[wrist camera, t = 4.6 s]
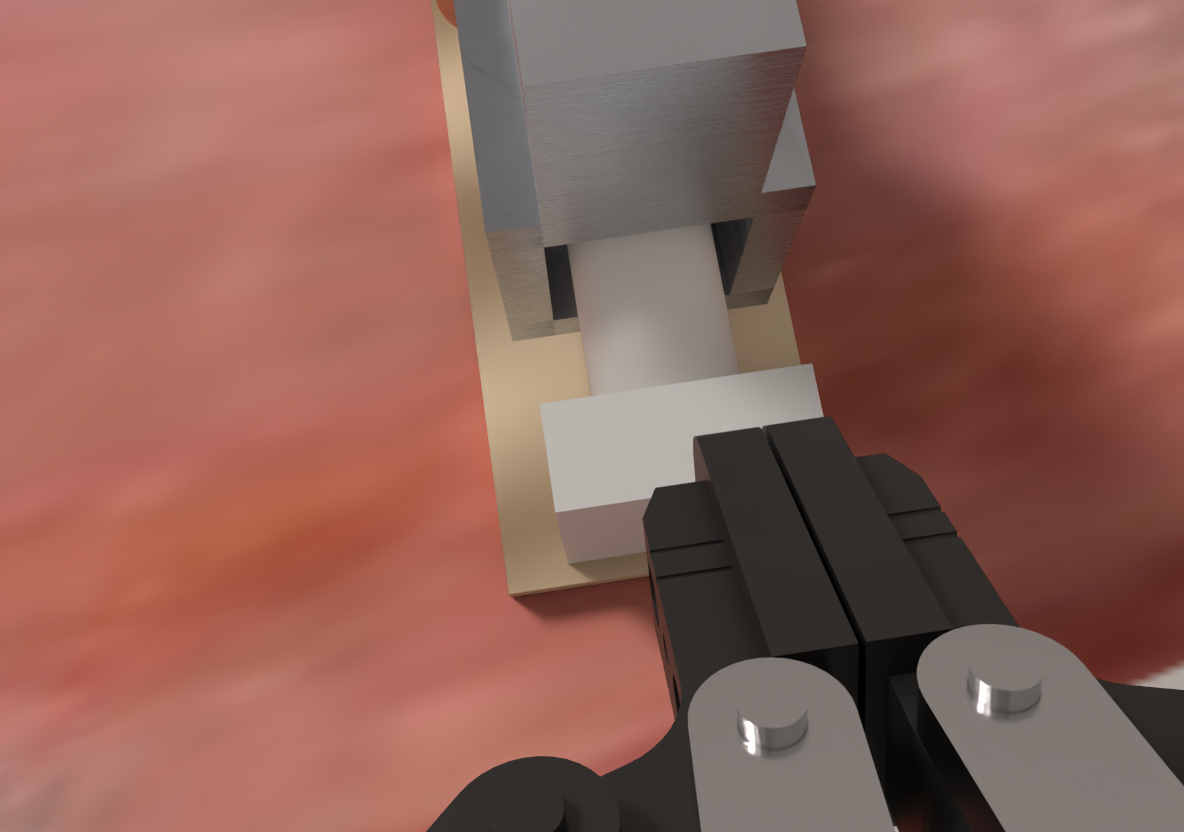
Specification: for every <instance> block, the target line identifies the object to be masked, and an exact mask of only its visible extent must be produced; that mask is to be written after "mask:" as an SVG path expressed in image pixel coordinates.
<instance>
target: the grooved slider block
mask: <svg viewBox="0 0 1184 832" xmlns="http://www.w3.org/2000/svg"><path fill="white" fill-rule="evenodd" d="M453 1H454V8H455V16H456V23H457V30H458V37H459V45H460V52H461V59H462V67H463V74H464V81H465V88H466V96H467V103H468V110H469V117H470V125H471V132H472V139H473V146H474V154H475V161H476V168H477V176H478V183H479V190H480V197H481V205H482V212H483V219H484V226H485V233H486V237H487V241H488V245H489V249H490V253H491V257H492V261H493V265H494V269H495V273H496V277H497V281H498V285H499V289H500V293H501V297H502V301H503V305H504V309H505V313H506V317H507V321H508V325H509V329H510V333H511V337H512V341H520V340H527V339H534V338H540V337H547V336H554V335H561V334H567V333H574V332H581V331H580V324H579V318H578V312H577V305H576V299H575V293H574V286H573V280H572V274H571V267H570V261H569V255H568V248H567V244H572V243H579V242H586V241H593V240H600V239H606V238H613V237H620V236H627V235H634V234H641V233H648V232H655V231H662V230H668V229H675V228H682V227H689V226H696V225H703V224H711V229H712V234H713V240H714V245H715V250H716V255H717V260H718V265H719V270H720V275H721V280H722V285H723V291H724V296H725V301H726V306H727V310H730V309H737V308H744V307H750V306H757V305H764V304H768V301H769V299H770V296H771V294H772V291H773V289H774V286H775V284H776V282H777V279H778V277H779V274H780V272H781V269H782V267H783V265H784V262H785V260H786V257H787V255H788V252H789V250H790V247H791V245H792V243H793V240H794V238H795V235H796V233H797V230H798V228H799V225H800V223H801V221H802V218H803V216H804V213H805V211H806V208H807V206H808V203H809V201H810V199H811V196H812V194H813V191H814V189H815V186H816V183H815V178H814V174H813V169H812V165H811V161H810V156H809V152H808V147H807V143H806V138H805V134H804V130H803V125H802V121H801V116H800V112H799V107H798V103H797V99H796V94H795V90H794V86H795V82H796V79H797V76H798V73H799V69H800V66H801V63H802V60H803V56H804V53H805V50H806V47H807V45H806V41H805V37H804V32H803V28H802V24H801V19H800V15H799V11H798V6H797V2H796V0H453Z"/></svg>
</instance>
